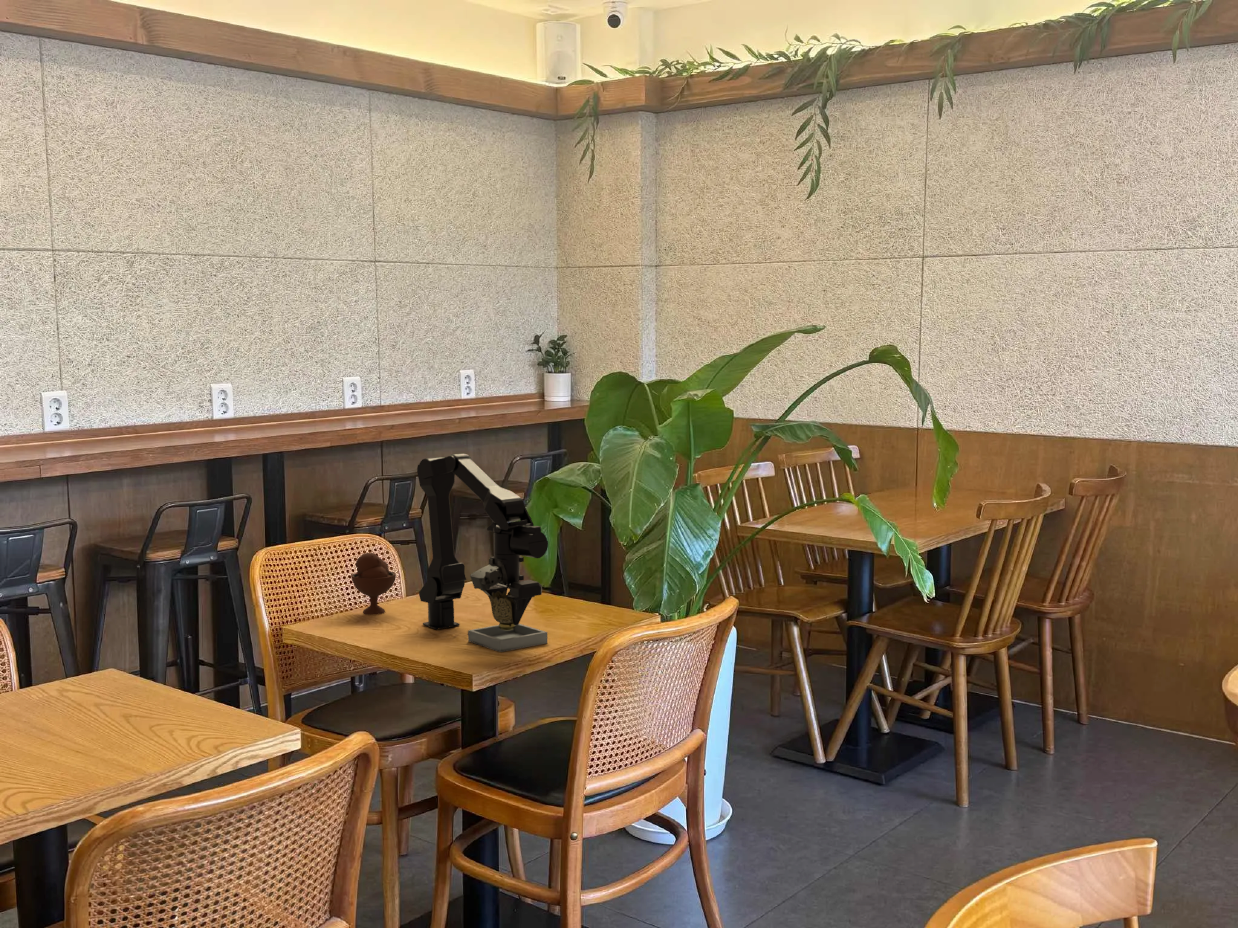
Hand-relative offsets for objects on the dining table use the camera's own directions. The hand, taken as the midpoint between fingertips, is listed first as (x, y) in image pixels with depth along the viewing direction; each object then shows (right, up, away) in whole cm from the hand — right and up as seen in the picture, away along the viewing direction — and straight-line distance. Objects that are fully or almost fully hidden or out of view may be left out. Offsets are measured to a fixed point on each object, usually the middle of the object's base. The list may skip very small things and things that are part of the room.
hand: (507, 621), depth 273 cm
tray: (0, -5, 0) cm, 5 cm away
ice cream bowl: (-36, -2, +30) cm, 47 cm away
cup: (0, -2, 0) cm, 2 cm away
